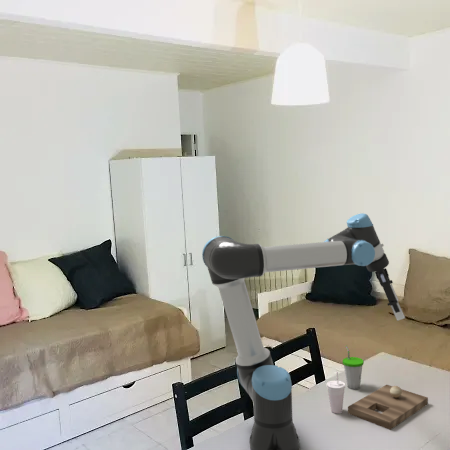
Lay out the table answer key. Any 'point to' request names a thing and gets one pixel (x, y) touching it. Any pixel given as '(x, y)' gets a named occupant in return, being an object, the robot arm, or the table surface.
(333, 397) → the smoothie
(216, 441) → the table surface
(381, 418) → the brown wooden flat board
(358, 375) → the cup
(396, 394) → the ball
